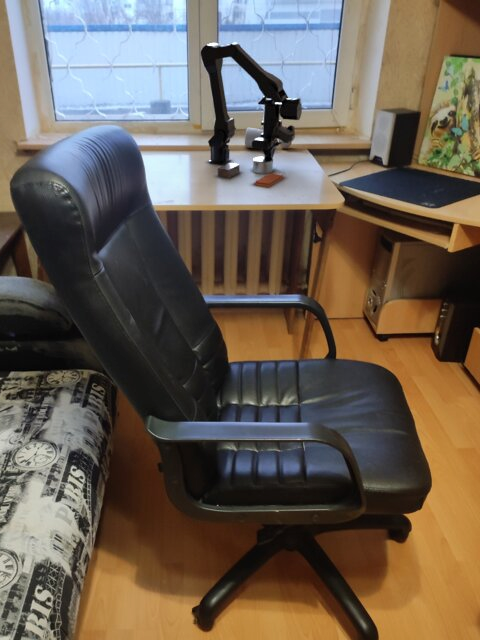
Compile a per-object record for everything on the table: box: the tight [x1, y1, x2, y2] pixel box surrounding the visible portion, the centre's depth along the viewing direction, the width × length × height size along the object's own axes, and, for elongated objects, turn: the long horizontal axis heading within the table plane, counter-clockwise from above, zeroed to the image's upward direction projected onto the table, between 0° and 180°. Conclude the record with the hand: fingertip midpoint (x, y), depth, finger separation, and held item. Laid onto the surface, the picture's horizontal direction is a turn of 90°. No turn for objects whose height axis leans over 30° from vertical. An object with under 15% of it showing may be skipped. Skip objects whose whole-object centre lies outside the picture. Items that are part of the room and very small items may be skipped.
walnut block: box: [217, 162, 241, 179], centre depth 198 cm, size 4×8×3 cm, turn 147°
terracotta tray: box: [253, 172, 284, 188], centre depth 192 cm, size 6×12×1 cm, turn 147°
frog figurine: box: [278, 134, 296, 150], centre depth 225 cm, size 6×7×7 cm
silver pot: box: [252, 156, 274, 174], centre depth 202 cm, size 7×7×4 cm
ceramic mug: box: [244, 127, 264, 149], centre depth 228 cm, size 11×8×8 cm
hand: (269, 163), depth 205 cm, fingers closed
